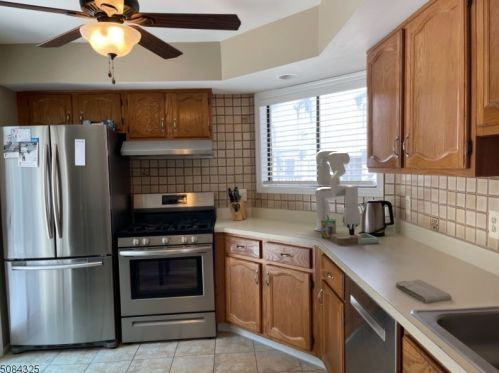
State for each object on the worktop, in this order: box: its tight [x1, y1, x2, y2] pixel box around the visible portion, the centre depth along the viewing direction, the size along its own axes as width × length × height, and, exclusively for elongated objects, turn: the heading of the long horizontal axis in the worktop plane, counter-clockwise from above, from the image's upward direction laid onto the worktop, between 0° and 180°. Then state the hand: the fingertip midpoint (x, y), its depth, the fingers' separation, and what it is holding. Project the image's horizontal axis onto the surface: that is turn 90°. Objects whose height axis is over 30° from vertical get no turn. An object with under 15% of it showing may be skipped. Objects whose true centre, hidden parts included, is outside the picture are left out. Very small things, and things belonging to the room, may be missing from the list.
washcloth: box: [395, 279, 453, 304], centre depth 132 cm, size 12×18×3 cm, turn 14°
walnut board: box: [329, 232, 359, 246], centre depth 216 cm, size 15×12×4 cm
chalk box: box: [321, 215, 337, 239], centre depth 233 cm, size 9×9×15 cm
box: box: [357, 233, 379, 245], centre depth 218 cm, size 15×13×3 cm
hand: (351, 235), depth 214 cm, fingers closed
